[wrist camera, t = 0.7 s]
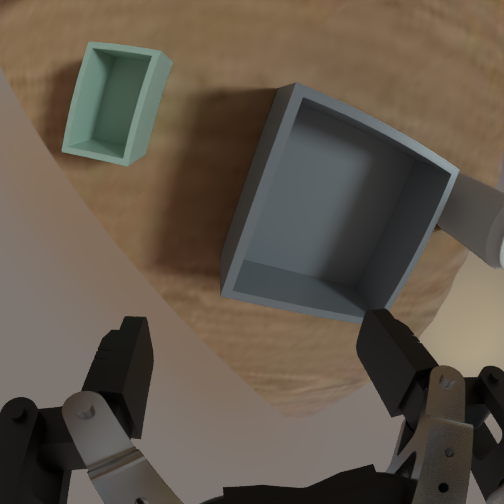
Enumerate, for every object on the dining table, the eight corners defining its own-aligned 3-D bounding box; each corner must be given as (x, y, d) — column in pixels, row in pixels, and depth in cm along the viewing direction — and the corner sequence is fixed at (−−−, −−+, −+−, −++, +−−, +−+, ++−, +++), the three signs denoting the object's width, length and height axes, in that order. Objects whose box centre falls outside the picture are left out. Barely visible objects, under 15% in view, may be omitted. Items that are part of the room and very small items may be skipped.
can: (433, 237, 33) (493, 289, 22) (424, 183, 30) (497, 224, 19) (473, 215, 32) (534, 257, 22) (467, 163, 29) (539, 195, 18)
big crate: (278, 88, 24) (296, 82, 18) (418, 154, 28) (459, 169, 22) (220, 256, 32) (220, 296, 25) (355, 290, 35) (378, 327, 29)
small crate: (114, 52, 21) (88, 41, 16) (173, 62, 23) (160, 50, 17) (90, 141, 25) (61, 151, 19) (146, 154, 26) (127, 166, 21)
